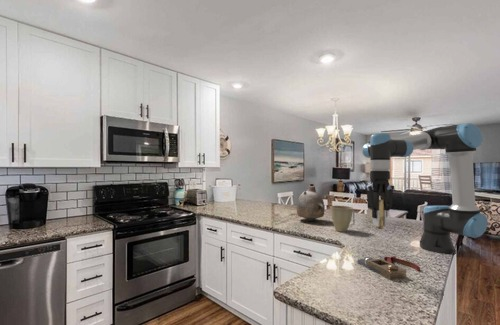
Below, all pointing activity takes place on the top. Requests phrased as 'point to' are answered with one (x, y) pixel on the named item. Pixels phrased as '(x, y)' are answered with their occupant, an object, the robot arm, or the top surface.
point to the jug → (310, 204)
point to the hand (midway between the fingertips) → (379, 225)
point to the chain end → (363, 262)
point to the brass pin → (381, 214)
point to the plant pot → (341, 217)
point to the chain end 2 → (387, 269)
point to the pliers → (399, 261)
